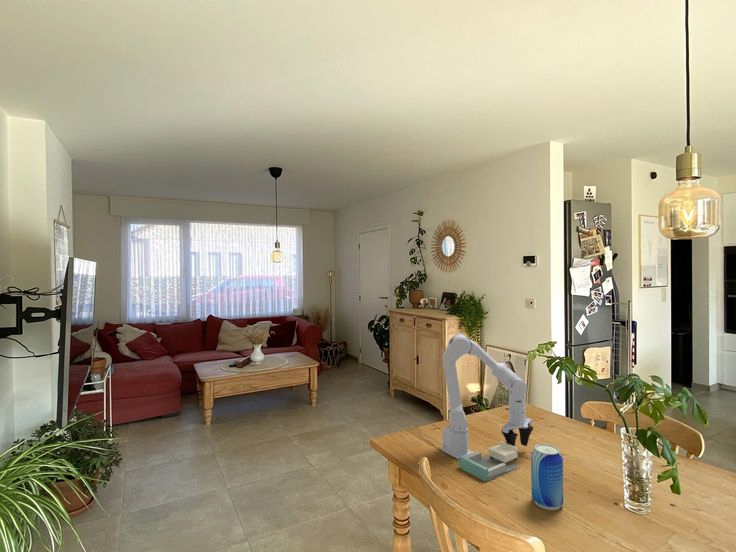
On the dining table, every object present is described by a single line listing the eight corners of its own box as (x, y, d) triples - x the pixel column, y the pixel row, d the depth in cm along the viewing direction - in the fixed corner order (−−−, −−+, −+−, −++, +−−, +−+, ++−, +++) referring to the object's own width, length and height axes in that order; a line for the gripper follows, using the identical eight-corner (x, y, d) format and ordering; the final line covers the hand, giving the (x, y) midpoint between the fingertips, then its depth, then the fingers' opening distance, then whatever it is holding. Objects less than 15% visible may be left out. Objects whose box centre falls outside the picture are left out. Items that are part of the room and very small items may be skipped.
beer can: (545, 514, 111) (544, 456, 111) (525, 498, 119) (524, 444, 119) (570, 509, 113) (569, 452, 113) (549, 493, 121) (548, 441, 121)
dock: (458, 469, 138) (458, 455, 138) (492, 455, 148) (492, 443, 148) (486, 484, 128) (486, 469, 128) (520, 468, 138) (520, 455, 138)
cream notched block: (488, 458, 143) (488, 445, 143) (501, 453, 147) (501, 440, 147) (504, 466, 137) (504, 452, 137) (517, 460, 141) (517, 447, 141)
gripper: (514, 418, 139) (514, 456, 139) (538, 409, 147) (539, 446, 147) (497, 412, 145) (497, 449, 145) (522, 404, 153) (522, 440, 153)
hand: (517, 447), depth 147 cm, fingers open, 7 cm apart
